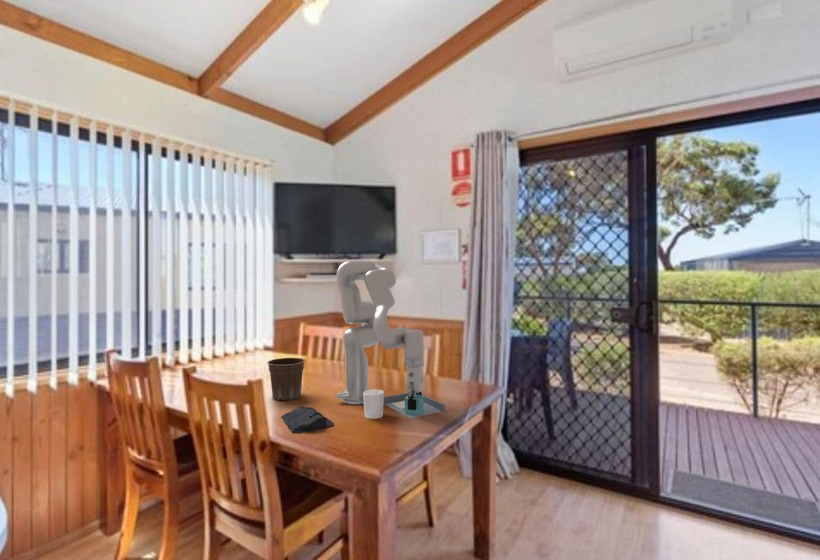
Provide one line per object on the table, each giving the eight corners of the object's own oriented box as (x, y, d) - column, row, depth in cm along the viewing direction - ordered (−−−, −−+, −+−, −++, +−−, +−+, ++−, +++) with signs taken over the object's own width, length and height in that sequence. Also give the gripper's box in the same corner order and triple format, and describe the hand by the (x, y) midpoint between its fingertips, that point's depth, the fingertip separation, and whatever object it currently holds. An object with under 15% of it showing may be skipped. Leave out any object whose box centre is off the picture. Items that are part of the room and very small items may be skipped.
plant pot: (293, 389, 210) (292, 355, 210) (313, 396, 199) (312, 360, 199) (261, 397, 198) (260, 361, 198) (280, 404, 187) (279, 366, 187)
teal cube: (420, 415, 170) (420, 399, 169) (404, 414, 171) (404, 398, 171) (423, 410, 175) (423, 395, 175) (408, 409, 177) (408, 394, 177)
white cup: (373, 413, 175) (373, 388, 175) (388, 417, 170) (388, 391, 170) (359, 418, 169) (358, 392, 169) (374, 423, 164) (373, 396, 164)
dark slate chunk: (316, 411, 180) (316, 399, 180) (336, 428, 161) (335, 415, 161) (278, 418, 173) (278, 406, 172) (293, 436, 153) (293, 423, 153)
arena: (410, 420, 166) (409, 411, 166) (382, 405, 185) (382, 397, 185) (444, 413, 175) (444, 404, 175) (415, 399, 194) (415, 391, 193)
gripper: (418, 366, 163) (419, 413, 164) (428, 357, 180) (428, 399, 180) (398, 366, 165) (399, 412, 165) (409, 357, 182) (410, 398, 182)
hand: (415, 405), depth 173 cm, fingers open, 9 cm apart
